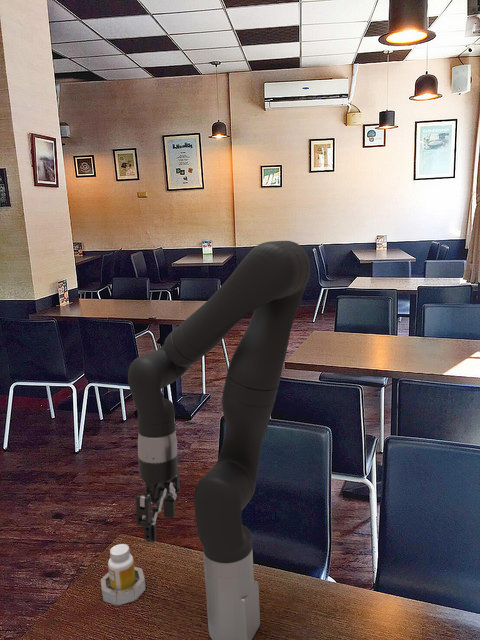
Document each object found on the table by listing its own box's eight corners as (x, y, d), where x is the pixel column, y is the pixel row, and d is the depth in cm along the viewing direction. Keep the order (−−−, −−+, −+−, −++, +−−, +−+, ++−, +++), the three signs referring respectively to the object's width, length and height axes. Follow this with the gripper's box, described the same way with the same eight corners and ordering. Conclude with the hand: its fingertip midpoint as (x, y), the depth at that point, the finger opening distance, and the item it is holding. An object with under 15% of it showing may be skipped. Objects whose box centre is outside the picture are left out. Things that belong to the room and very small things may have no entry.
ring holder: (152, 581, 113) (151, 571, 113) (127, 609, 105) (126, 598, 105) (120, 571, 117) (119, 562, 117) (93, 597, 109) (92, 587, 109)
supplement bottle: (139, 581, 114) (135, 541, 112) (131, 598, 108) (127, 557, 107) (115, 581, 114) (111, 541, 113) (107, 598, 109) (102, 556, 107)
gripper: (158, 472, 92) (161, 553, 95) (190, 440, 105) (191, 512, 108) (121, 466, 94) (125, 545, 97) (156, 435, 107) (159, 506, 110)
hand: (160, 528), depth 102 cm, fingers open, 8 cm apart
